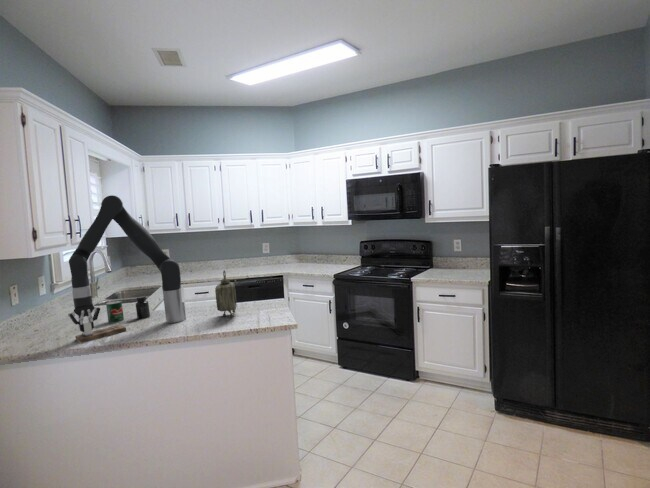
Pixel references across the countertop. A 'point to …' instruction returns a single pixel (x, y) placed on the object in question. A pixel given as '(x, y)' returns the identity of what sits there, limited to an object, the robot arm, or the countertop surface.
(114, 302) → the canned tomato
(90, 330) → the fader
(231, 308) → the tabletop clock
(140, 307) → the supplement bottle
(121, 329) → the board
